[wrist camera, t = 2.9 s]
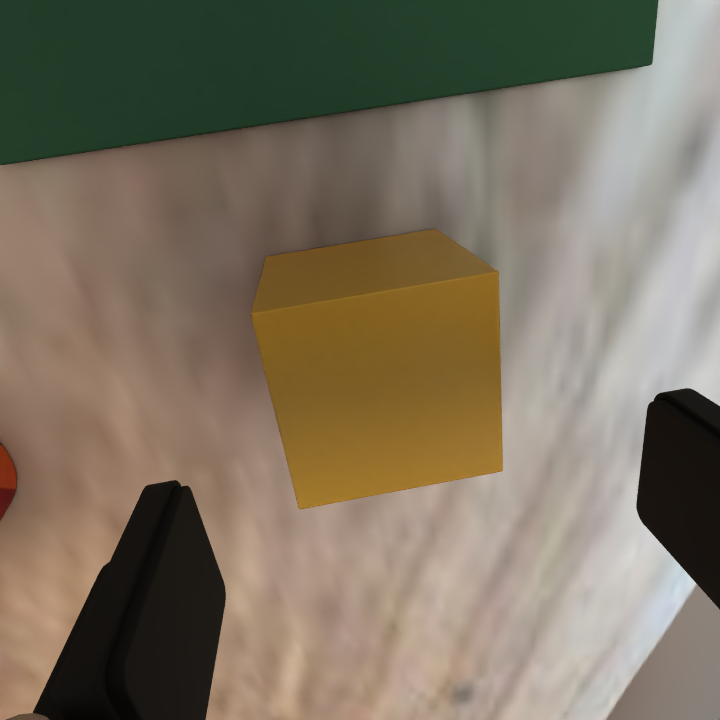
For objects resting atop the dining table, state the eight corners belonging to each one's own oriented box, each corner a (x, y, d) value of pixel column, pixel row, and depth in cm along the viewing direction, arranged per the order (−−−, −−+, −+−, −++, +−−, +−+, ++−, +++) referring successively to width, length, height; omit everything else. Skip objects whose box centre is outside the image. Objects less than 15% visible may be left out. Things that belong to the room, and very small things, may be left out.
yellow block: (298, 406, 20) (298, 510, 14) (265, 256, 17) (250, 313, 12) (447, 379, 20) (503, 471, 14) (436, 228, 17) (499, 271, 12)
